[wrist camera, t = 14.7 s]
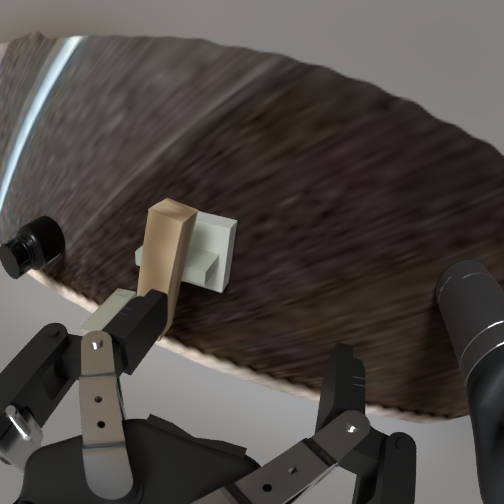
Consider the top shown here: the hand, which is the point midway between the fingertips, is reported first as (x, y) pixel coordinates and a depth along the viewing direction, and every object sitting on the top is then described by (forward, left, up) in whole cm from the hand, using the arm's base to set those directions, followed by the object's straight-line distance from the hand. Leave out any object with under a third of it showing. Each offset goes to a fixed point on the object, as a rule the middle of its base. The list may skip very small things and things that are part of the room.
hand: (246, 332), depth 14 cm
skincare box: (+26, +28, -28) cm, 48 cm away
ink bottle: (+46, +19, -28) cm, 57 cm away
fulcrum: (+14, +12, -28) cm, 34 cm away
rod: (+14, +12, -20) cm, 27 cm away
